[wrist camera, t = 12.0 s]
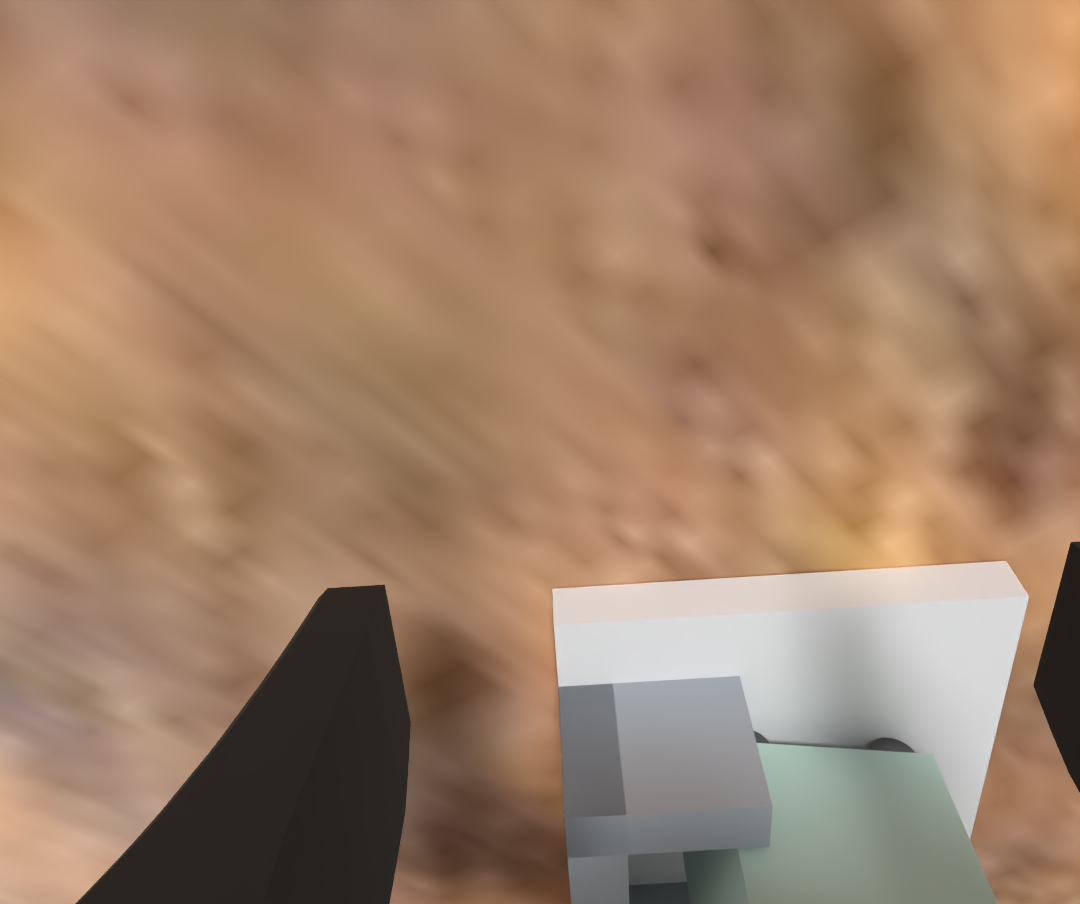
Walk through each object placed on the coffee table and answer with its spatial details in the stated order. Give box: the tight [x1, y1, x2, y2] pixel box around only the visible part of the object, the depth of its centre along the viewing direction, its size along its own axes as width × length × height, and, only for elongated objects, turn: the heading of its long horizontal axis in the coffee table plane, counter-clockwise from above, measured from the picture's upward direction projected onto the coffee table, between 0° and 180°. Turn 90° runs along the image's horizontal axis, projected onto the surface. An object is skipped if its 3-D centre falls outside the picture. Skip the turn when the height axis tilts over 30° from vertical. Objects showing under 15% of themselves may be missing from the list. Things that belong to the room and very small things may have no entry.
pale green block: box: [683, 731, 998, 904], centre depth 22 cm, size 5×4×5 cm
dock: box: [552, 561, 1029, 904], centre depth 24 cm, size 10×12×5 cm
